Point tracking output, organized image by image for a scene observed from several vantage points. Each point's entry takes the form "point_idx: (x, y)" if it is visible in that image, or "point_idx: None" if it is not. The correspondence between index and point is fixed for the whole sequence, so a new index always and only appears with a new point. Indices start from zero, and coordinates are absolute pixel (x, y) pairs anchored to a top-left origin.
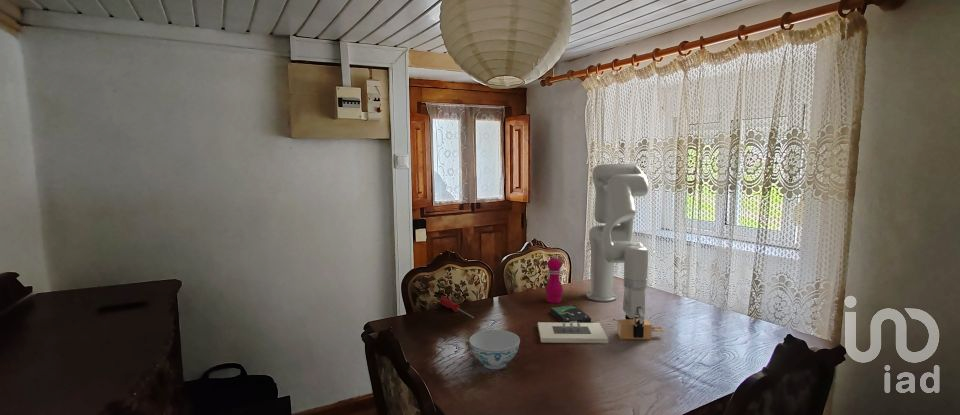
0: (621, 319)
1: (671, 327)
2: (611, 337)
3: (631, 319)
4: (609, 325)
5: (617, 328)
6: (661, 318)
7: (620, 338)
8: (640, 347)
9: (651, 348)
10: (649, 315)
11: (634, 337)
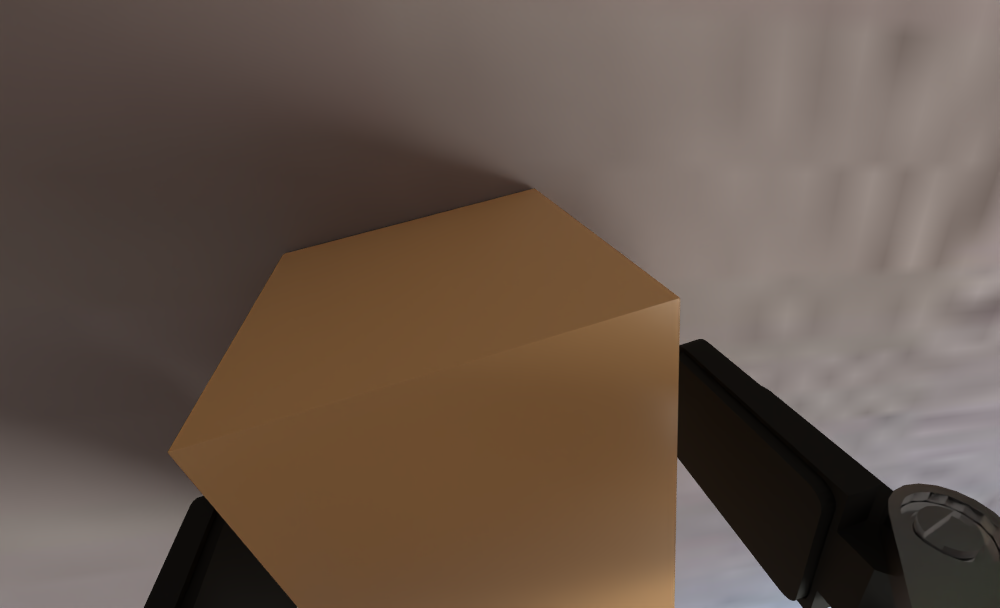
0: (663, 401)
1: (724, 603)
2: (288, 75)
3: (669, 562)
4: (850, 57)
5: (547, 218)
6: None
7: (305, 248)
8: (85, 512)
9: (141, 596)
10: (977, 461)
11: (207, 500)
